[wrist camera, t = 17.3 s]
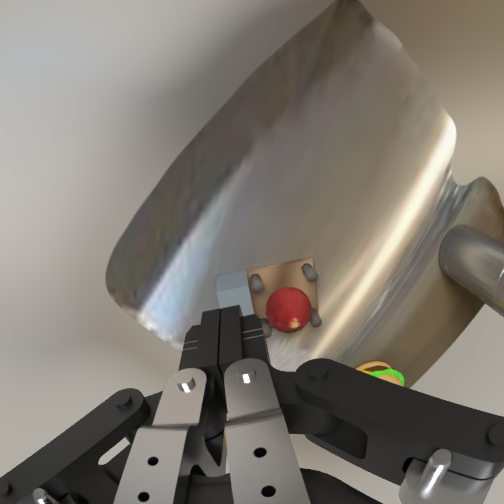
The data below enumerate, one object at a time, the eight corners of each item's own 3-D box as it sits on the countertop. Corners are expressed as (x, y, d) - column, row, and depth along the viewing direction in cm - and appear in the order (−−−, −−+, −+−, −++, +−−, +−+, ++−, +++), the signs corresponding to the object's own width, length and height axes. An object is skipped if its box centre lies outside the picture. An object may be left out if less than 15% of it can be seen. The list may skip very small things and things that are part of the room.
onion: (293, 319, 44) (305, 352, 36) (256, 308, 43) (262, 341, 35) (310, 284, 42) (327, 313, 35) (272, 271, 41) (282, 299, 33)
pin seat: (310, 257, 42) (318, 268, 38) (316, 312, 45) (324, 327, 41) (216, 275, 42) (216, 288, 38) (230, 330, 45) (231, 346, 41)
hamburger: (403, 354, 50) (425, 382, 42) (379, 400, 53) (395, 429, 45) (348, 353, 48) (366, 387, 40) (326, 402, 52) (339, 436, 44)
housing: (246, 270, 42) (248, 286, 37) (257, 325, 45) (260, 345, 40) (216, 275, 42) (215, 292, 37) (230, 330, 45) (231, 350, 40)
